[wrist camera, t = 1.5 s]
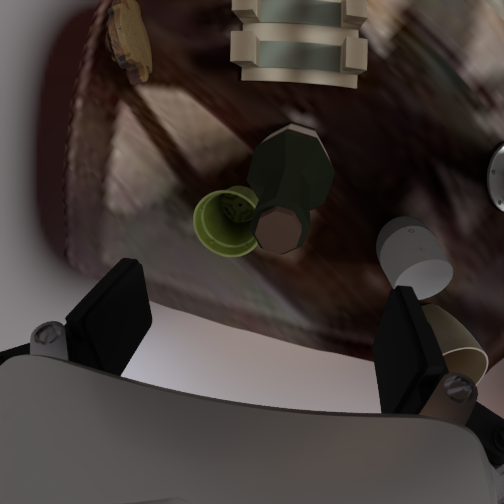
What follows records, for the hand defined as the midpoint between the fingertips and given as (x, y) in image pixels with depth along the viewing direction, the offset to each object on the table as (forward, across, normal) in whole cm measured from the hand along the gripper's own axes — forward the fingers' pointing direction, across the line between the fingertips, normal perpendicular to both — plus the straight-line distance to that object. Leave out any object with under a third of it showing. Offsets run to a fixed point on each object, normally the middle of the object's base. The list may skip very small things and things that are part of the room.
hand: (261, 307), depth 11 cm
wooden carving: (+36, +24, -18) cm, 47 cm away
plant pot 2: (+36, -28, +28) cm, 54 cm away
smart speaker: (+36, -18, +12) cm, 42 cm away
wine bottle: (+36, 0, 0) cm, 36 cm away
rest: (+36, 0, -20) cm, 41 cm away
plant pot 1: (+36, +8, +9) cm, 38 cm away
